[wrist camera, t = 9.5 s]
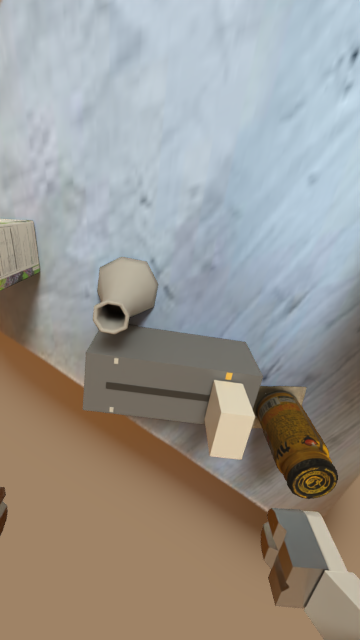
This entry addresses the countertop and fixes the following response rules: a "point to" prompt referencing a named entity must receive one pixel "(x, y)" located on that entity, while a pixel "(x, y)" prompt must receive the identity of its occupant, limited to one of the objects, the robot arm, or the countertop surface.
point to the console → (163, 373)
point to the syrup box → (17, 251)
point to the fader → (228, 420)
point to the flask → (123, 293)
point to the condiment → (294, 441)
